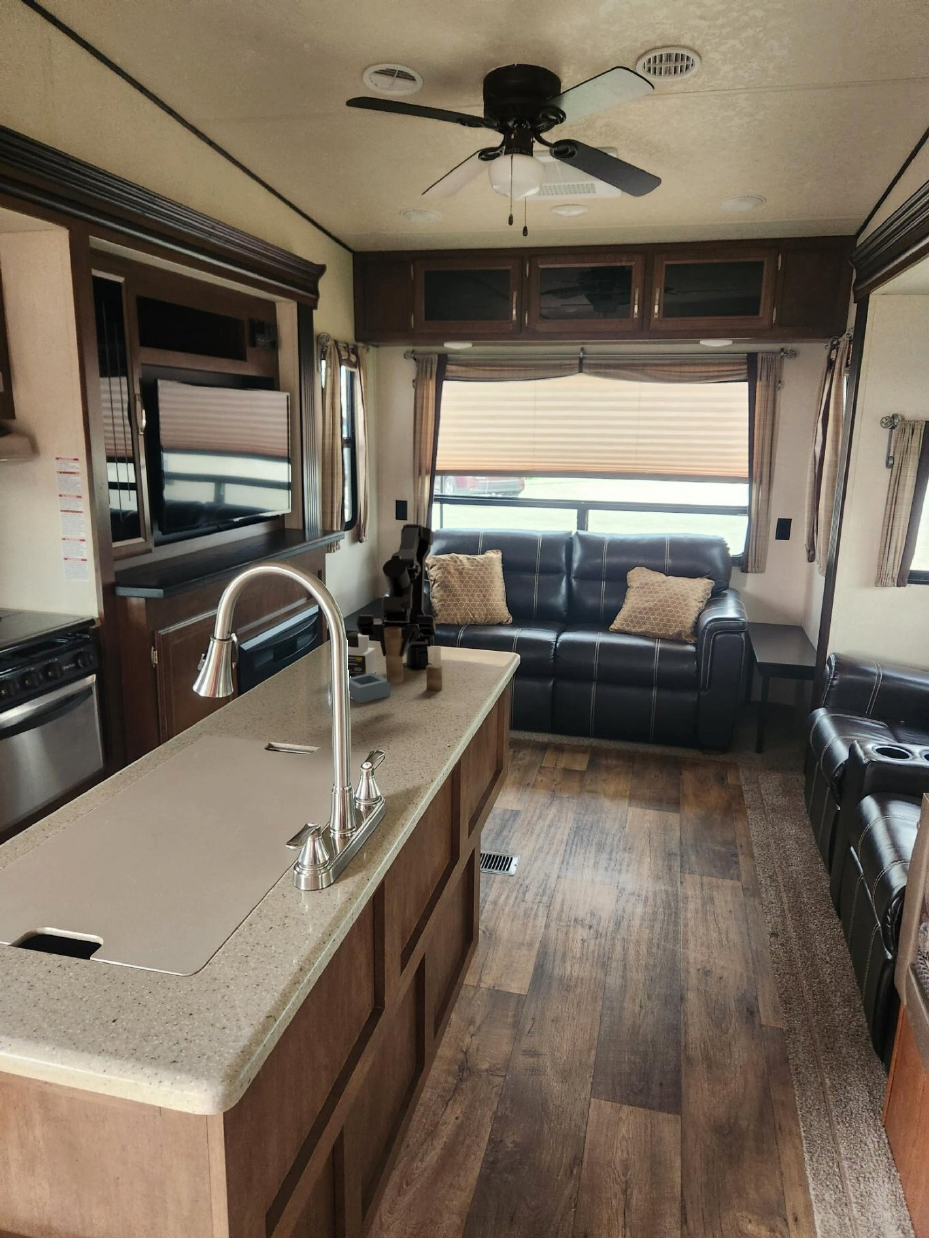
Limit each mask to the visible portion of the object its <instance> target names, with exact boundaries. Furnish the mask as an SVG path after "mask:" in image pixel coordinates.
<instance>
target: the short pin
mask: <svg viewBox="0 0 929 1238" xmlns="http://www.w3.org/2000/svg"><path fill="white" fill-rule="evenodd" d="M442 667H443V666H442V665H440V664H433V665H428V666H426V667H425V671H426V673H425V675H426V676H425V677H426V680H425V681H426V691H428V692H433V691H435V692H441V691H442V690H443V673H442V672H443V671H442V669H443V668H442Z"/></svg>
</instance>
